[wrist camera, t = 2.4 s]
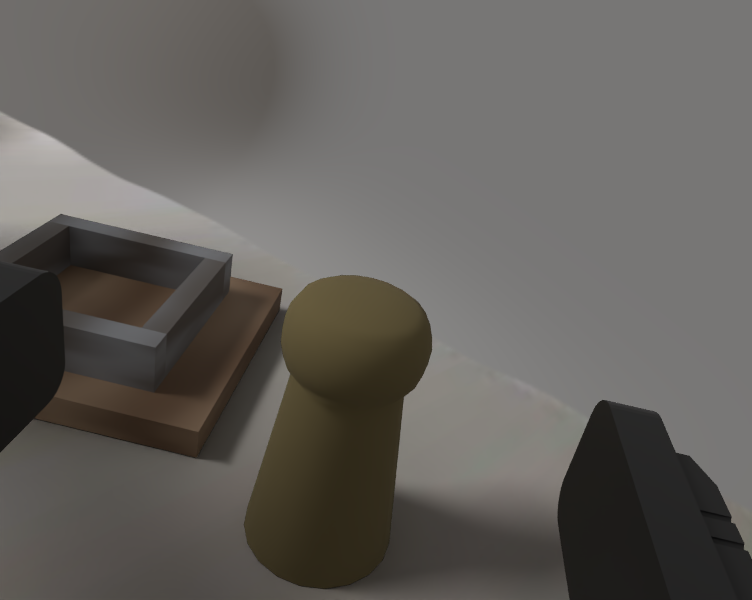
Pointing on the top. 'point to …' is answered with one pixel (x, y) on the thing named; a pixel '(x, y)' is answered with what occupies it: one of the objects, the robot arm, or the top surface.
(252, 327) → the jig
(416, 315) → the cork
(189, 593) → the top surface
